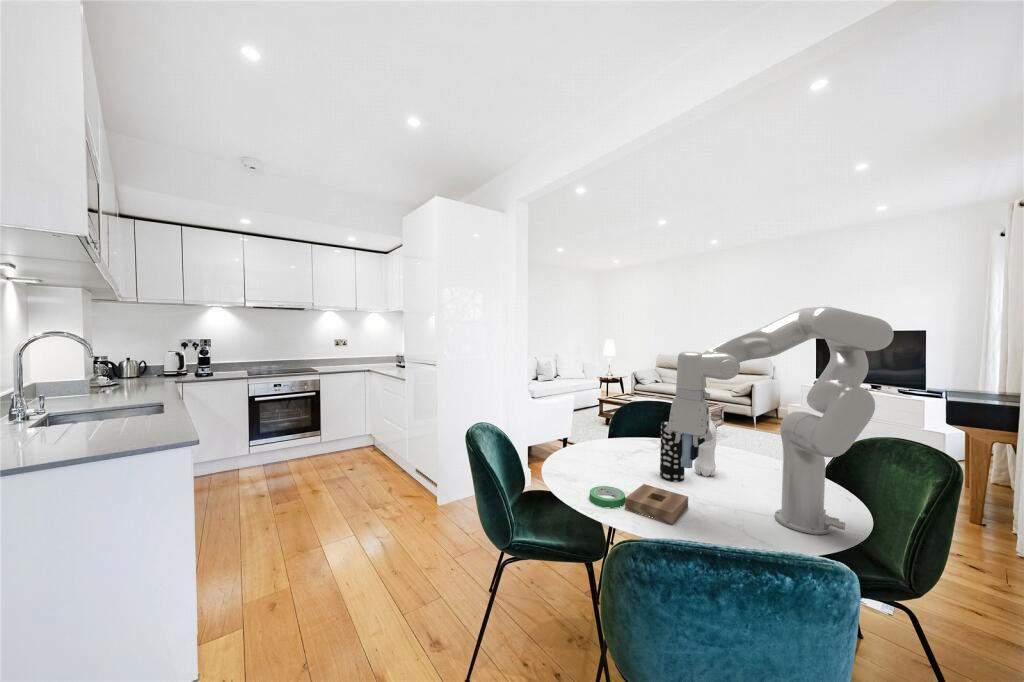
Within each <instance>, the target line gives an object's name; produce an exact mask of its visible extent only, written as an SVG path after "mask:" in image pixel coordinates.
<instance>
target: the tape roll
mask: <svg viewBox="0 0 1024 682" xmlns="http://www.w3.org/2000/svg"><path fill="white" fill-rule="evenodd" d="M598 495H599V496H598ZM604 495H605V496H610V495H612V498H611V497H610V498H609V497H608V498H607V497H602V496H604ZM625 498H626V493H625V492H624V491H623V490H621V489H620V488H617V487H614V486H610V485H609V486H605V485H598V486H594V487H592V488H591V489H590V490H589V500H590V502H591V503H592V504H593V503H594V505H595V504H596V505H595V506H597V505H598V506H597V507H600V506H601V507H600V508H604V507H610V508H609V509H614V508H613V507H619V508H621V507H620V506H622V507H623V506H625Z"/></svg>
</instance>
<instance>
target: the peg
mask: <svg viewBox="0 0 1024 682" xmlns="http://www.w3.org/2000/svg"><path fill="white" fill-rule="evenodd" d="M692 446H693V435H688V434H683V433H682V453H681V466H682V467H684V468H686V469H693V460H691V447H692Z"/></svg>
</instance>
